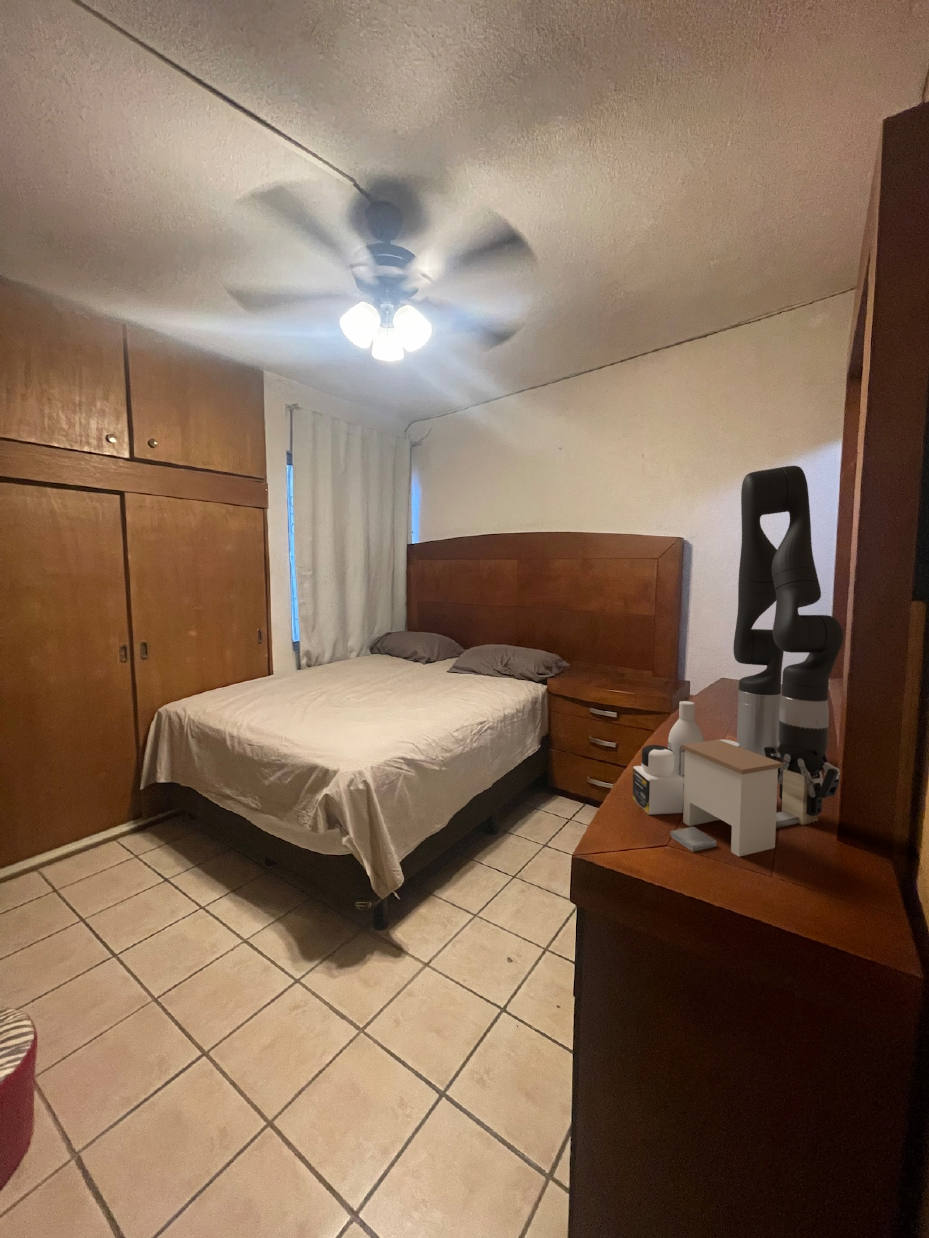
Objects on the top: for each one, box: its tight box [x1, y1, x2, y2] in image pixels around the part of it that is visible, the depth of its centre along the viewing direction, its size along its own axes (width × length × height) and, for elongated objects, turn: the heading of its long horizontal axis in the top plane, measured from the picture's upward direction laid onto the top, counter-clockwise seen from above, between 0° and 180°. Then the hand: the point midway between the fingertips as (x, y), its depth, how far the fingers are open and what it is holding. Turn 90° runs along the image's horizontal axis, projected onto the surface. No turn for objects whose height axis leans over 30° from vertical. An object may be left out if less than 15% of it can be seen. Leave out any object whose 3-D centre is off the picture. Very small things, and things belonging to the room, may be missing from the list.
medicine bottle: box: [632, 744, 684, 816], centre depth 94 cm, size 7×7×12 cm
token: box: [670, 826, 717, 853], centre depth 81 cm, size 5×5×2 cm
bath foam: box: [667, 700, 705, 802], centre depth 99 cm, size 7×7×20 cm
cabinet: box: [682, 739, 783, 857], centre depth 83 cm, size 9×13×15 cm
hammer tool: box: [776, 770, 819, 829], centre depth 87 cm, size 16×4×9 cm, turn 109°
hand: (799, 808), depth 89 cm, fingers open, 4 cm apart
